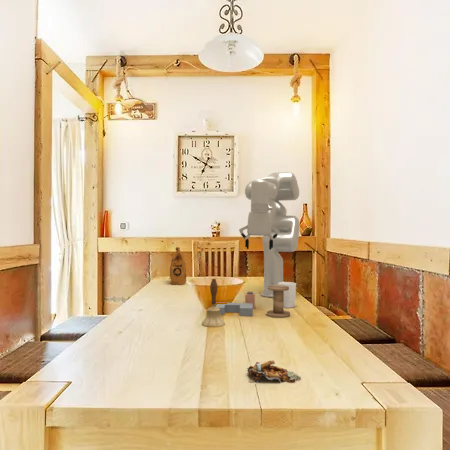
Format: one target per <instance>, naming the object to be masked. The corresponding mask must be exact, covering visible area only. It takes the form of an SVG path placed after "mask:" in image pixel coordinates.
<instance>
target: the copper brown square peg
mask: <svg viewBox="0 0 450 450" xmlns="http://www.w3.org/2000/svg"><path fill="white" fill-rule="evenodd" d="M244 295H245V296H244V303H252V304H253V310H255V309H256V304H255V303H256V302H255V301H256V294H255V293H254V291H247V292H245V293H244Z"/></svg>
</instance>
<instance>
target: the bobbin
mask: <svg viewBox="0 0 450 450" xmlns="http://www.w3.org/2000/svg"><path fill="white" fill-rule="evenodd" d="M268 289H269V290H273V297H272V300H273V301H272V305H273V307H272V310H267V311H266V316H268V317H271V318H280V319H281V318H283V319H284V318H289V317H290V316H291V312H290V311H288V310H285V308H284V291H287V290H289V287H288V286H283V285H271V286H268Z"/></svg>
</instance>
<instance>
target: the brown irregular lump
mask: <svg viewBox="0 0 450 450" xmlns="http://www.w3.org/2000/svg"><path fill="white" fill-rule="evenodd" d="M275 364H276V362H275V359H273V360H268V361H265V362H263V363H260V362H259V361H257V362H255V364H254V365H250V366H248V367H247V368H246V369H247V373H246V374H247V375H250V376H251V377H252V378H253V380H254V379H255V380H254V381H252V380H248V383H250V384H254V383H255V384H260V383H261V379H260V378H262V377H264V378H265V379H267V380H270V381H273V380H278V381H279V383H280V384H282V383H291V384H292V383H296V382H301V381H302V379H301V375H298V373H295V372H293V371H292V370H288V369H286V368H283V367H279V366H275Z"/></svg>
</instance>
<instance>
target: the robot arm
mask: <svg viewBox="0 0 450 450" xmlns="http://www.w3.org/2000/svg"><path fill="white" fill-rule="evenodd" d="M244 195H245V198H247V199H248V200H250V211H249V212H248V217H247V225H245V226H243V227H241V228H239V230H238V232H239V233H240V236H241V237H242V238H243V239H244V241H245V242H244V243H245V245H244V246H245V248H246V250H249V248H250V247H249V245H250V240H249V238H250V237H251V236H254V237H255V236H259V237H260V236H261V237H262V238H261V239H262V242H261V243H262V248H263V291H261V292H260V295H261V296H262V297H265V298H273V290H269V289H268V286H271V285H278V283H279V282H284V259H283V257H282V256H281V254H280V252H281V253H282V252H284V253H287V252H288V253H291V252H292V253H293V252H295V251H296V250H297V249H298V245H299V236H300V220H299V218H298V217H297V216H296V215H287V208H286V207H285V206H284V205H283V203H281V202H280V201H296V200H298V198H299V197H300V188H299V184H298V180H297V177H296V175H295V174H294V173H293V172H291V171H285V172H284V171H282V172H281V171H279V172H272V173H270V174H268V176H266V177H263V178H259V179H254V180H251V181H249V182H248V183H247V184H246V186H245V188H244ZM245 230H246V231H247V233H246V235H245V233H244V231H245Z"/></svg>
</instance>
